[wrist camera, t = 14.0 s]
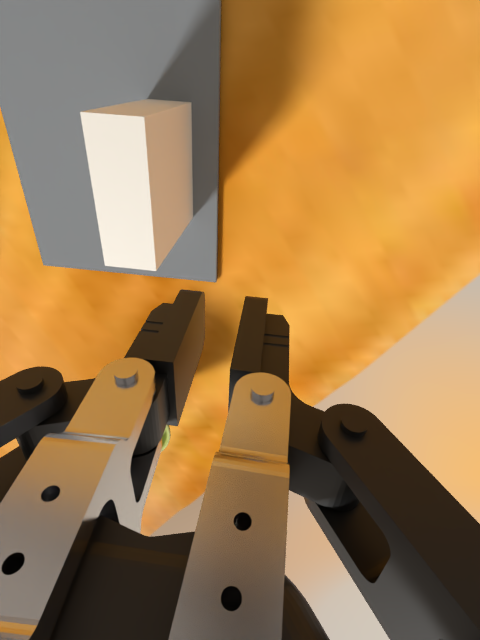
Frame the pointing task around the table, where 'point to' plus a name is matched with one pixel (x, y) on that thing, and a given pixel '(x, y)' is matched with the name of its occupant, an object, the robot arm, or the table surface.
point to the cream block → (140, 178)
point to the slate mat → (102, 91)
